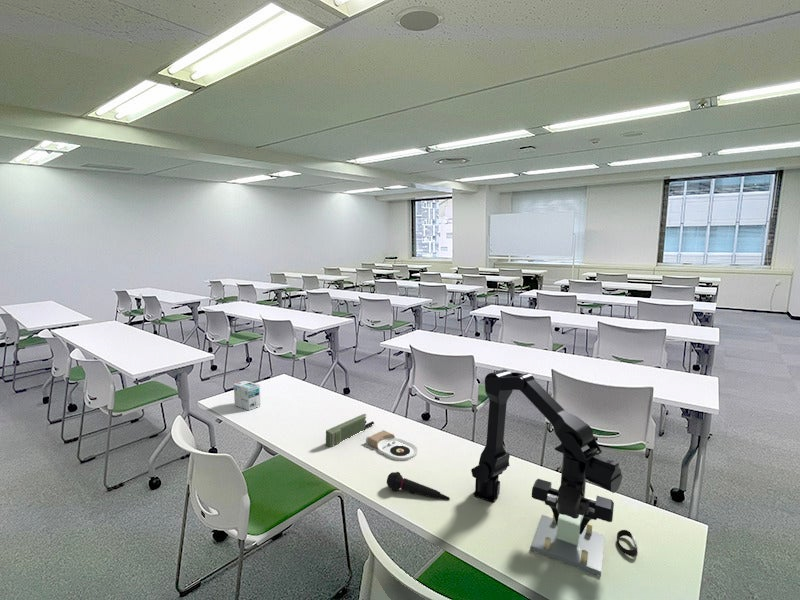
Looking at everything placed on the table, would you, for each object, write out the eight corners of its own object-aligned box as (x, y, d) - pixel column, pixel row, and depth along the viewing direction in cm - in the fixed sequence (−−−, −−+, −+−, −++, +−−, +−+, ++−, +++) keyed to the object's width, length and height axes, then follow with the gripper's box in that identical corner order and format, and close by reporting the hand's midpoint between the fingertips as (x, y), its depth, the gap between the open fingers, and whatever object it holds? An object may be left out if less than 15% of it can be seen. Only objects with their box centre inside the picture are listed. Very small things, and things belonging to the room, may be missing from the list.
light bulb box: (261, 406, 191) (260, 384, 189) (249, 411, 185) (248, 388, 184) (246, 401, 196) (245, 379, 195) (233, 406, 191) (233, 383, 189)
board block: (556, 538, 103) (557, 519, 103) (560, 522, 109) (562, 504, 109) (577, 545, 101) (579, 526, 100) (581, 528, 107) (582, 511, 106)
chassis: (530, 550, 103) (531, 536, 103) (541, 518, 115) (542, 506, 115) (600, 576, 96) (602, 561, 95) (604, 539, 108) (606, 526, 107)
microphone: (448, 505, 125) (387, 485, 131) (452, 486, 126) (391, 467, 132) (446, 511, 120) (382, 490, 126) (450, 491, 121) (386, 471, 127)
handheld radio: (324, 446, 155) (370, 424, 174) (330, 449, 153) (375, 426, 172) (324, 429, 154) (370, 409, 173) (330, 432, 152) (376, 411, 171)
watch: (641, 560, 101) (642, 547, 100) (620, 556, 102) (621, 543, 102) (632, 539, 108) (633, 526, 108) (613, 535, 109) (614, 523, 109)
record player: (385, 428, 164) (424, 445, 151) (385, 435, 165) (423, 453, 151) (363, 437, 156) (402, 457, 142) (363, 445, 156) (402, 465, 143)
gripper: (528, 477, 100) (524, 535, 103) (614, 501, 91) (608, 565, 93) (538, 457, 110) (534, 510, 112) (616, 477, 101) (610, 535, 103)
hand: (569, 529), depth 105 cm, fingers closed on board block, 5 cm apart
